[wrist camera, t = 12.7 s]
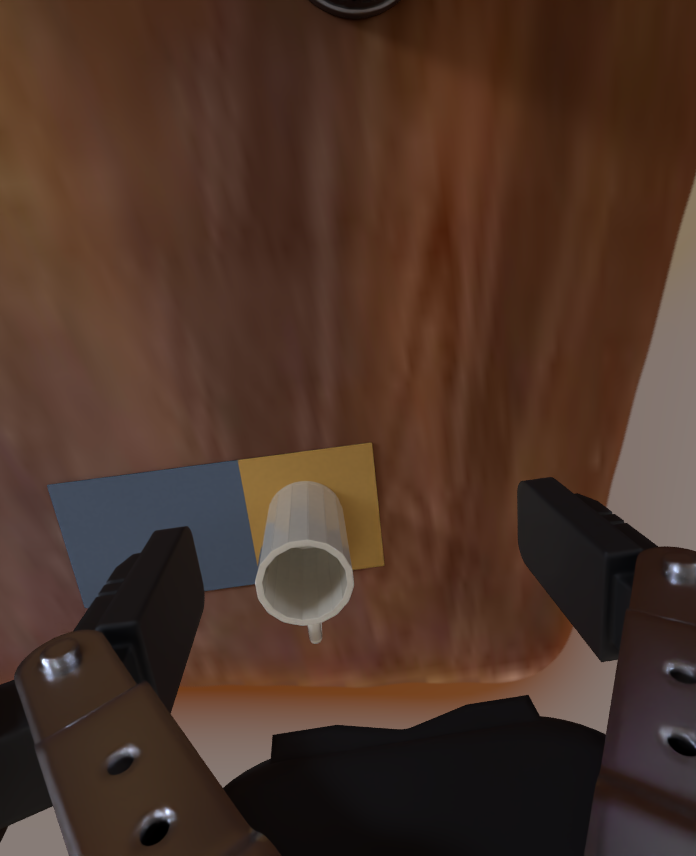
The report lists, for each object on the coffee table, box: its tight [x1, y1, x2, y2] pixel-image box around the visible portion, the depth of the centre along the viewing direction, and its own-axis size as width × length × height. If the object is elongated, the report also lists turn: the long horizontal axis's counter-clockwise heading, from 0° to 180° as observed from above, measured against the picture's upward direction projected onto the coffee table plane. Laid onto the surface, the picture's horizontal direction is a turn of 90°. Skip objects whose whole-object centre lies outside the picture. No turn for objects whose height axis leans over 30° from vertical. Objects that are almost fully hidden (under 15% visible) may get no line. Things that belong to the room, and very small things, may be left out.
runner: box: [47, 443, 384, 608], centre depth 40 cm, size 11×25×1 cm, turn 96°
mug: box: [255, 481, 354, 644], centre depth 36 cm, size 9×6×10 cm
